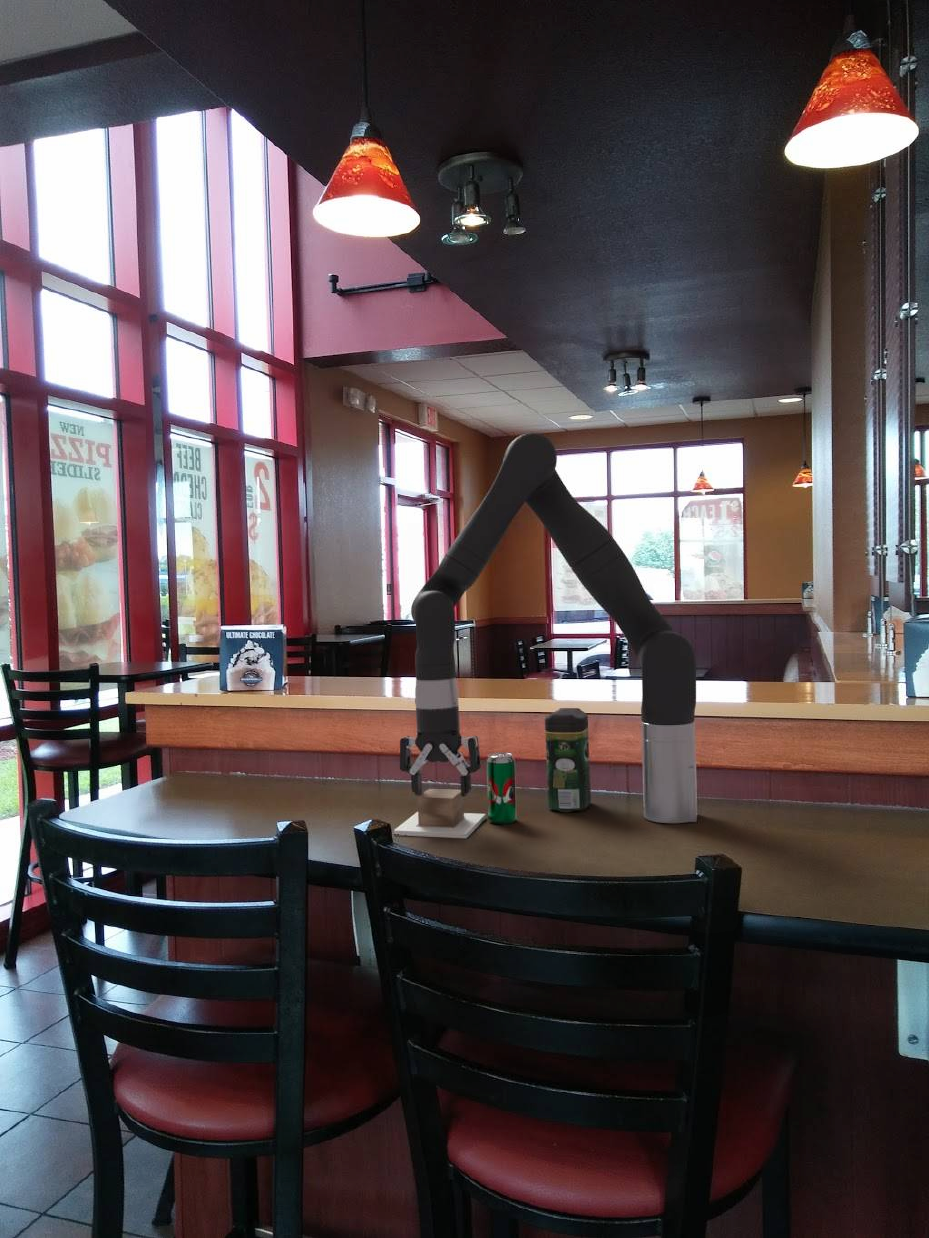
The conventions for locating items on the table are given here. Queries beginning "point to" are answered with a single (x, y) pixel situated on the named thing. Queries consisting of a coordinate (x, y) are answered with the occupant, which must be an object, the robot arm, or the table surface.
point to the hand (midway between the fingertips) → (441, 795)
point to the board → (457, 831)
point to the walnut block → (440, 807)
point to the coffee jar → (567, 760)
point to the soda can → (501, 788)
